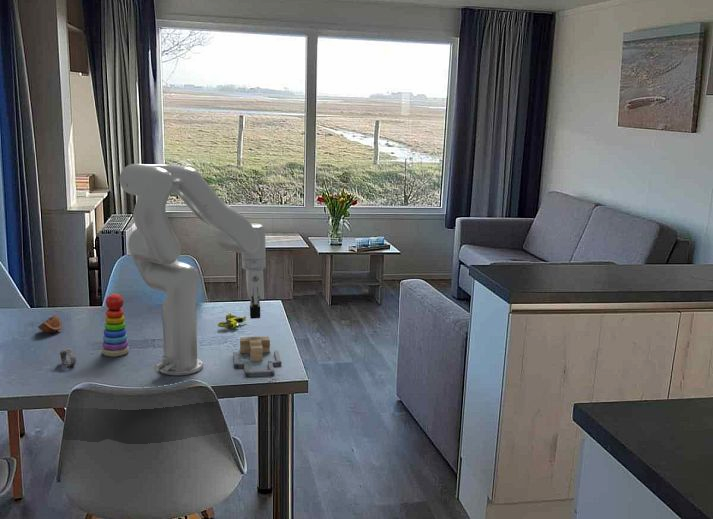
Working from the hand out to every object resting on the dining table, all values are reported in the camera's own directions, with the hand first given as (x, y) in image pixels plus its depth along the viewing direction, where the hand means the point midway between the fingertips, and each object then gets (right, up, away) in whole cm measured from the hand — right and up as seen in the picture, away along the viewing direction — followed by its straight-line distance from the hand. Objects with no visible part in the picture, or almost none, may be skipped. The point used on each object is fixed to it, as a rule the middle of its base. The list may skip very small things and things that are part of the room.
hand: (255, 317), depth 223 cm
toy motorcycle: (-11, -5, +17) cm, 21 cm away
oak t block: (+1, -11, -9) cm, 14 cm away
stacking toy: (-41, -10, -11) cm, 44 cm away
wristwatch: (-51, -12, -22) cm, 57 cm away
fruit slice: (-69, -6, +5) cm, 69 cm away
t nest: (+4, -13, -18) cm, 23 cm away
